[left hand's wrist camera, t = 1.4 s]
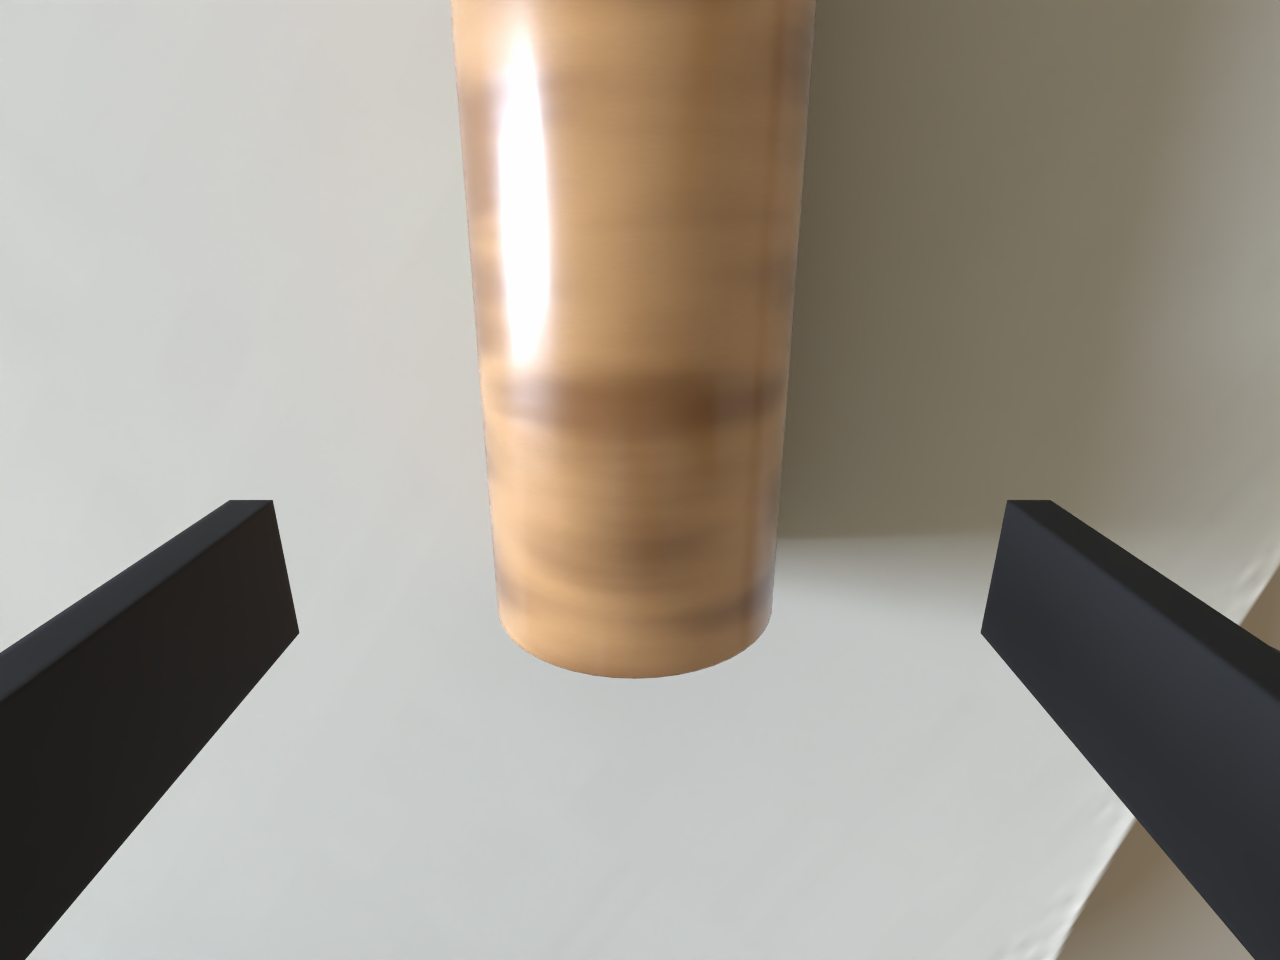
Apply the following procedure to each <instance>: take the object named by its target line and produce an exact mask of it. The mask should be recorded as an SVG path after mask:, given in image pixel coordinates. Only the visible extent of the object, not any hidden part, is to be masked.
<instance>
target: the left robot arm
mask: <svg viewBox="0 0 1280 960" xmlns="http://www.w3.org/2000/svg"><path fill="white" fill-rule="evenodd" d="M298 634H299V629H298V624H297V619H296V614H295V609H294V604H293V599H292V594H291V589H290V584H289V579H288V574H287V569H286V564H285V559H284V554H283V549H282V544H281V539H280V534H279V529H278V524H277V519H276V514H275V509H274V504H273V500H229V501H228V502H226V503H225V504H223V505H222V506H220V507H219V508H217V509H216V510H214V511H213V512H211V513H210V514H208V515H207V516H205V517H204V518H202V519H201V520H199V521H198V522H196V523H195V524H193V525H192V526H190V527H189V528H187V529H186V530H184V531H183V532H181V533H180V534H178V535H177V536H175V537H174V538H172V539H171V540H169V541H168V542H166V543H165V544H163V545H162V546H160V547H159V548H157V549H156V550H154V551H153V552H151V553H150V554H148V555H147V556H145V557H144V558H142V559H141V560H139V561H138V562H136V563H135V564H133V565H132V566H130V567H129V568H127V569H126V570H124V571H123V572H121V573H120V574H118V575H117V576H115V577H114V578H112V579H111V580H109V581H108V582H106V583H105V584H103V585H102V586H100V587H99V588H97V589H96V590H94V591H93V592H91V593H90V594H88V595H87V596H85V597H84V598H82V599H81V600H79V601H78V602H76V603H75V604H73V605H72V606H70V607H69V608H67V609H66V610H64V611H63V612H61V613H60V614H58V615H57V616H55V617H53V618H52V619H50V620H49V621H47V622H46V623H44V624H43V625H41V626H40V627H38V628H37V629H35V630H34V631H32V632H31V633H29V634H28V635H26V636H25V637H23V638H22V639H20V640H19V641H17V642H16V643H14V644H13V645H11V646H10V647H8V648H7V649H5V650H4V651H2V652H1V653H0V960H25V959H26V958H27V957H28V956H29V954H30V953H31V952H32V951H33V950H34V948H35V947H36V946H37V945H38V944H39V942H40V941H41V940H42V939H43V938H44V937H45V935H46V934H47V933H48V932H49V931H50V929H51V928H52V927H53V926H54V925H55V923H56V922H57V921H58V920H59V919H60V917H61V916H62V915H63V914H64V913H65V911H66V910H67V909H68V908H69V907H70V906H71V904H72V903H73V902H74V901H75V900H76V898H77V897H78V896H79V895H80V894H81V892H82V891H83V890H84V889H85V888H86V886H87V885H88V884H89V883H90V882H91V881H92V879H93V878H94V877H95V876H96V875H97V873H98V872H99V871H100V870H101V869H102V867H103V866H104V865H105V864H106V863H107V861H108V860H109V859H110V858H111V857H112V856H113V854H114V853H115V852H116V851H117V850H118V848H119V847H120V846H121V845H122V844H123V842H124V841H125V840H126V839H127V838H128V836H129V835H130V834H131V833H132V832H133V830H134V829H135V828H136V827H137V826H138V825H139V823H140V822H141V821H142V820H143V819H144V817H145V816H146V815H147V814H148V813H149V811H150V810H151V809H152V808H153V807H154V805H155V804H156V803H157V802H158V801H159V800H160V798H161V797H162V796H163V795H164V794H165V792H166V791H167V790H168V789H169V788H170V786H171V785H172V784H173V783H174V782H175V780H176V779H177V778H178V777H179V776H180V775H181V773H182V772H183V771H184V770H185V769H186V767H187V766H188V765H189V764H190V763H191V761H192V760H193V759H194V758H195V757H196V755H197V754H198V753H199V752H200V751H201V749H202V748H203V747H204V746H205V745H206V744H207V742H208V741H209V740H210V739H211V738H212V736H213V735H214V734H215V733H216V732H217V730H218V729H219V728H220V727H221V726H222V724H223V723H224V722H225V721H226V720H227V719H228V717H229V716H230V715H231V714H232V713H233V711H234V710H235V709H236V708H237V707H238V705H239V704H240V703H241V702H242V701H243V699H244V698H245V697H246V696H247V695H248V693H249V692H250V691H251V690H252V689H253V688H254V686H255V685H256V684H257V683H258V682H259V680H260V679H261V678H262V677H263V676H264V674H265V673H266V672H267V671H268V670H269V668H270V667H271V666H272V665H273V664H274V663H275V661H276V660H277V659H278V658H279V657H280V655H281V654H282V653H283V652H284V651H285V649H286V648H287V647H288V646H289V645H290V643H291V642H292V641H293V640H294V639H295V638H296V636H297V635H298ZM981 634H982V635H983V636H984V638H985V639H986V640H987V641H988V642H989V643H990V645H991V646H992V647H993V648H994V649H995V651H996V652H997V653H998V654H999V655H1000V657H1001V658H1002V659H1003V660H1004V661H1005V663H1006V664H1007V665H1008V666H1009V667H1010V668H1011V670H1012V671H1013V672H1014V673H1015V674H1016V676H1017V677H1018V678H1019V679H1020V680H1021V682H1022V683H1023V684H1024V685H1025V686H1026V688H1027V689H1028V690H1029V691H1030V692H1031V693H1032V695H1033V696H1034V697H1035V698H1036V699H1037V701H1038V702H1039V703H1040V704H1041V705H1042V707H1043V708H1044V709H1045V710H1046V711H1047V713H1048V714H1049V715H1050V716H1051V717H1052V719H1053V720H1054V721H1055V722H1056V723H1057V724H1058V726H1059V727H1060V728H1061V729H1062V730H1063V732H1064V733H1065V734H1066V735H1067V736H1068V738H1069V739H1070V740H1071V741H1072V742H1073V744H1074V745H1075V746H1076V747H1077V748H1078V749H1079V751H1080V752H1081V753H1082V754H1083V755H1084V757H1085V758H1086V759H1087V760H1088V761H1089V763H1090V764H1091V765H1092V766H1093V767H1094V769H1095V770H1096V771H1097V772H1098V773H1099V775H1100V776H1101V777H1102V778H1103V779H1104V780H1105V782H1106V783H1107V784H1108V785H1109V786H1110V788H1111V789H1112V790H1113V791H1114V792H1115V794H1116V795H1117V796H1118V797H1119V798H1120V800H1121V801H1122V802H1123V803H1124V804H1125V805H1126V807H1127V808H1128V809H1129V810H1130V811H1131V813H1132V814H1133V815H1134V816H1135V817H1136V819H1137V820H1138V821H1139V822H1140V823H1141V825H1142V826H1143V827H1144V828H1145V829H1146V830H1147V832H1148V833H1149V834H1150V835H1151V836H1152V838H1153V839H1154V840H1155V841H1156V842H1157V844H1158V845H1159V846H1160V847H1161V848H1162V850H1163V851H1164V852H1165V853H1166V854H1167V856H1168V857H1169V858H1170V859H1171V860H1172V861H1173V863H1174V864H1175V865H1176V866H1177V867H1178V869H1179V870H1180V871H1181V872H1182V873H1183V875H1184V876H1185V877H1186V878H1187V879H1188V881H1189V882H1190V883H1191V884H1192V885H1193V886H1194V888H1195V889H1196V890H1197V891H1198V892H1199V894H1200V895H1201V896H1202V897H1203V898H1204V900H1205V901H1206V902H1207V903H1208V904H1209V906H1210V907H1211V908H1212V909H1213V910H1214V911H1215V913H1216V914H1217V915H1218V916H1219V917H1220V919H1221V920H1222V921H1223V922H1224V923H1225V925H1226V926H1227V927H1228V928H1229V929H1230V931H1231V932H1232V933H1233V934H1234V935H1235V937H1236V938H1237V939H1238V940H1239V941H1240V942H1241V944H1242V945H1243V946H1244V947H1245V948H1246V950H1247V951H1248V952H1249V953H1250V954H1251V956H1252V957H1253V958H1254V959H1255V960H1280V651H1279V650H1277V649H1275V648H1273V647H1270V646H1268V645H1267V644H1266V643H1264V642H1262V641H1261V640H1260V639H1258V638H1257V637H1255V636H1254V635H1252V634H1251V633H1249V632H1248V631H1246V630H1245V629H1243V628H1242V627H1240V626H1239V625H1237V624H1236V623H1234V622H1233V621H1231V620H1230V619H1228V618H1227V617H1225V616H1223V615H1222V614H1220V613H1219V612H1217V611H1216V610H1214V609H1213V608H1211V607H1210V606H1208V605H1207V604H1205V603H1204V602H1202V601H1201V600H1199V599H1198V598H1196V597H1195V596H1193V595H1192V594H1190V593H1189V592H1187V591H1186V590H1184V589H1183V588H1181V587H1180V586H1178V585H1177V584H1175V583H1174V582H1172V581H1171V580H1169V579H1168V578H1166V577H1165V576H1163V575H1162V574H1160V573H1159V572H1157V571H1156V570H1154V569H1153V568H1151V567H1150V566H1148V565H1147V564H1145V563H1144V562H1142V561H1141V560H1139V559H1138V558H1136V557H1135V556H1133V555H1132V554H1130V553H1129V552H1127V551H1126V550H1124V549H1123V548H1121V547H1120V546H1118V545H1117V544H1115V543H1114V542H1112V541H1111V540H1109V539H1108V538H1106V537H1105V536H1103V535H1102V534H1100V533H1099V532H1097V531H1096V530H1094V529H1093V528H1091V527H1090V526H1088V525H1087V524H1085V523H1084V522H1082V521H1081V520H1079V519H1078V518H1076V517H1075V516H1073V515H1072V514H1070V513H1069V512H1067V511H1066V510H1064V509H1063V508H1061V507H1060V506H1058V505H1057V504H1055V503H1054V502H1052V501H1051V500H1007V504H1006V509H1005V514H1004V519H1003V524H1002V529H1001V534H1000V539H999V544H998V549H997V554H996V559H995V564H994V569H993V574H992V579H991V584H990V589H989V594H988V599H987V604H986V609H985V614H984V619H983V624H982V629H981Z"/></svg>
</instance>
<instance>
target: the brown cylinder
mask: <svg viewBox="0 0 1280 960" xmlns="http://www.w3.org/2000/svg"><path fill="white" fill-rule="evenodd" d="M450 6H451V19H452V32H453V44H454V57H455V70H456V82H457V95H458V108H459V120H460V133H461V146H462V158H463V171H464V184H465V196H466V209H467V222H468V234H469V247H470V260H471V272H472V285H473V298H474V310H475V323H476V336H477V348H478V361H479V374H480V386H481V399H482V412H483V424H484V437H485V450H486V462H487V475H488V488H489V500H490V513H491V526H492V538H493V551H494V564H495V576H496V589H497V602H498V614H499V618H500V621H501V624H502V626H503V627H504V629H505V631H506V633H507V634H508V635H509V636H510V638H511V639H512V640H513V641H514V642H515V643H516V644H517V645H519V646H520V647H521V648H522V649H524V650H525V651H526V652H528V653H530V654H531V655H533V656H535V657H537V658H538V659H540V660H543V661H545V662H548V663H550V664H552V665H555V666H558V667H561V668H564V669H567V670H571V671H574V672H579V673H584V674H589V675H594V676H603V677H612V678H634V679H636V678H657V677H665V676H673V675H680V674H684V673H689V672H694V671H698V670H701V669H704V668H707V667H711V666H714V665H716V664H719V663H721V662H723V661H726V660H728V659H730V658H732V657H734V656H736V655H737V654H739V653H741V652H742V651H744V650H745V649H747V648H748V647H749V646H750V645H752V644H753V643H754V642H755V641H756V640H757V639H758V638H759V637H760V636H761V634H762V633H763V632H764V630H765V628H766V626H767V625H768V623H769V620H770V617H771V613H772V599H773V586H774V572H775V558H776V545H777V531H778V517H779V504H780V490H781V476H782V463H783V449H784V435H785V422H786V408H787V394H788V381H789V367H790V353H791V340H792V326H793V312H794V299H795V285H796V271H797V258H798V244H799V230H800V217H801V203H802V189H803V176H804V162H805V148H806V135H807V121H808V107H809V94H810V80H811V66H812V53H813V39H814V25H815V12H816V0H450Z"/></svg>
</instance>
